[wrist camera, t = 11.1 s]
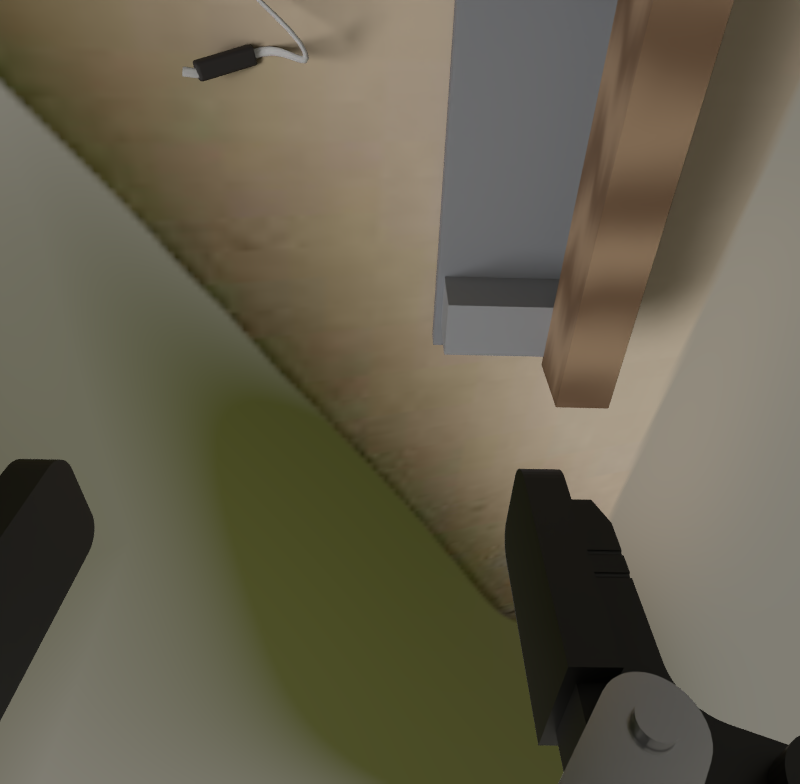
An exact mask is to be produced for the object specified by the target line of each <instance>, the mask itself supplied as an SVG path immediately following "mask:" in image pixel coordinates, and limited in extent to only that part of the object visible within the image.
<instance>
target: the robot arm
mask: <svg viewBox="0 0 800 784" xmlns="http://www.w3.org/2000/svg"><path fill="white" fill-rule="evenodd" d="M93 537H94V519H93V516H92V514H91V511H90V509H89V507H88V504H87V502H86V500H85V498H84V495H83V493H82V491H81V489H80V486H79V484H78V482H77V479H76V477H75V475H74V473H73V470H72V468H71V466H70V465H69V464H68V463H67V462H66V461H64V460H43V459H41V460H40V459H18V460H15V461H13V462H12V463H10V464H9V465H8V467H7V468H6V469H5V470H4V471H3V473H2V474H1V475H0V720H1V718H2V716H3V714H4V712H5V711H6V708H7V707H8V705H9V703H10V701H11V699H12V697H13V695H14V693H15V692H16V690H17V688H18V686H19V684H20V682H21V680H22V678H23V676H24V674H25V673H26V670H27V669H28V667H29V665H30V663H31V661H32V659H33V657H34V655H35V653H36V652H37V650H38V648H39V646H40V644H41V642H42V640H43V638H44V636H45V634H46V632H47V631H48V629H49V627H50V625H51V623H52V621H53V619H54V617H55V615H56V614H57V612H58V610H59V607H60V606H61V604H62V602H63V600H64V598H65V596H66V594H67V593H68V591H69V589H70V587H71V585H72V583H73V581H74V579H75V577H76V575H77V574H78V572H79V570H80V568H81V566H82V564H83V562H84V560H85V558H86V556H87V554H88V552H89V550H90V548H91V545H92V542H93ZM505 553H506V561H507V567H508V572H509V578H510V584H511V590H512V595H513V601H514V607H515V613H516V618H517V624H518V630H519V636H520V641H521V647H522V653H523V659H524V665H525V670H526V676H527V682H528V687H529V693H530V699H531V705H532V711H533V717H534V722H535V728H536V734H537V739H538V745H558V746H559V751H560V756H561V761H562V766H563V771H564V773H563V775H562V777H561V779H560V781H559V783H558V784H800V736H798V737H797V738H795V739H794V740H793V741H792V742H791V743H790V744H789V745H787V744H784V743H781V742H778V741H776V740H772V739H770V738H767V737H764V736H761V735H758V734H755V733H752V732H749V731H746V730H744V729H741V728H737V727H735V726H732V725H729V724H727V723H724V722H722V721H719V720H717V719H715V718H714V717H712V716H710V715H708V714H707V713H705V712H704V711H702V710H701V709H699V708H698V707H697V706H696V704H695V703H694V702H693V700H692V699H691V698H690V697H689V696H688V695H687V694H686V693H685V692H683V691H682V690H681V689H680V688H679V687H677V686H676V685H675V683H674V682H673V681H672V679H671V678H670V676H669V674H668V672H667V670H666V668H665V666H664V664H663V661H662V658H661V656H660V653H659V650H658V647H657V645H656V642H655V639H654V637H653V634H652V631H651V629H650V626H649V623H648V620H647V618H646V615H645V613H644V610H643V607H642V604H641V601H640V599H639V596H638V593H637V591H636V588H635V585H634V583H633V580H632V578H630V576H629V574H630V572H629V569H628V566H627V564H626V561H625V558H624V556H623V555H622V554H621V548H620V545H619V542H618V539H617V537H616V534H615V532H614V529H613V526H612V523H611V522H610V521H609V520H608V519H607V517H606V516H605V515H604V514H603V513H602V512H601V511H600V509H599V508H598V507H597V506H596V505H595V504H594V503H593V501H592V500H572V499H571V497H570V493H569V490H568V487H567V484H566V480H565V477H564V475H563V473H562V471H561V470H555V469H518V470H517V472H516V475H515V480H514V485H513V490H512V495H511V500H510V505H509V510H508V515H507V520H506V526H505Z"/></svg>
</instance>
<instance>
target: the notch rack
mask: <svg viewBox="0 0 800 784" xmlns="http://www.w3.org/2000/svg"><path fill="white" fill-rule="evenodd" d="M617 1H618V0H455V8H454V23H453V38H452V53H451V67H450V82H449V97H448V112H447V127H446V142H445V156H444V171H443V186H442V201H441V216H440V231H439V245H438V260H437V275H436V290H435V305H434V320H433V334H432V335H433V345H443V346H444V354H450V355H494V356H539V357H543V356H544V351H545V346H546V342H547V337H548V332H549V327H550V322H551V318H552V313H553V308H554V303H555V298H556V294H557V289H558V284H559V279H560V274H561V270H562V265H563V260H564V255H565V251H566V246H567V241H568V236H569V231H570V227H571V222H572V217H573V212H574V207H575V203H576V198H577V193H578V188H579V183H580V179H581V174H582V169H583V164H584V160H585V155H586V150H587V145H588V140H589V136H590V131H591V126H592V121H593V116H594V112H595V107H596V102H597V97H598V92H599V88H600V83H601V78H602V73H603V69H604V64H605V59H606V54H607V49H608V45H609V40H610V35H611V30H612V25H613V21H614V16H615V11H616V6H617Z"/></svg>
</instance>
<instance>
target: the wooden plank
mask: <svg viewBox="0 0 800 784" xmlns="http://www.w3.org/2000/svg"><path fill="white" fill-rule="evenodd" d="M733 3H734V0H618V1H617V6H616V11H615V16H614V21H613V25H612V30H611V35H610V40H609V45H608V49H607V54H606V59H605V64H604V69H603V73H602V78H601V83H600V88H599V92H598V97H597V102H596V107H595V112H594V116H593V121H592V126H591V131H590V136H589V140H588V145H587V150H586V155H585V160H584V164H583V169H582V174H581V179H580V183H579V188H578V193H577V198H576V203H575V207H574V212H573V217H572V222H571V227H570V231H569V236H568V241H567V246H566V251H565V255H564V260H563V265H562V270H561V274H560V279H559V284H558V289H557V294H556V298H555V303H554V308H553V313H552V318H551V322H550V327H549V332H548V337H547V342H546V346H545V351H544V356H543V361H542V368H543V371H544V373H545V376H546V379H547V382H548V385H549V388H550V391H551V394H552V397H553V400H554V403H555V406H556V407H573V408H609V404H610V401H611V398H612V395H613V391H614V388H615V385H616V382H617V378H618V375H619V372H620V369H621V366H622V362H623V359H624V356H625V353H626V349H627V346H628V343H629V340H630V336H631V333H632V330H633V327H634V323H635V320H636V317H637V314H638V310H639V307H640V304H641V301H642V297H643V294H644V291H645V288H646V284H647V281H648V278H649V275H650V272H651V268H652V265H653V262H654V259H655V255H656V252H657V249H658V246H659V242H660V239H661V236H662V233H663V229H664V226H665V223H666V220H667V216H668V213H669V210H670V207H671V203H672V200H673V197H674V194H675V190H676V187H677V184H678V181H679V178H680V174H681V171H682V168H683V165H684V161H685V158H686V155H687V152H688V148H689V145H690V142H691V139H692V135H693V132H694V129H695V126H696V122H697V119H698V116H699V113H700V109H701V106H702V103H703V100H704V97H705V93H706V90H707V87H708V84H709V80H710V77H711V74H712V71H713V67H714V64H715V61H716V58H717V54H718V51H719V48H720V45H721V41H722V38H723V35H724V32H725V28H726V25H727V22H728V19H729V15H730V12H731V9H732V6H733Z"/></svg>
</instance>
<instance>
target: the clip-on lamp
mask: <svg viewBox="0 0 800 784" xmlns="http://www.w3.org/2000/svg"><path fill="white" fill-rule="evenodd" d="M257 1H258V3H259V4H260V5H261V6H262V7H263V8H264V9H265V10H266V11H267V12H268V13H269V14H270V15H271V16H272V17H273V18H274V19H275V20H276V21H277V22H278V23H279V24H280V25H281V26H282V27H283V28H284V29H285V30H286V31H287V32H288V33H289V34H290V35H291V36H292V38H293V39H294V40H295V41H296V42H297V44H298V45H299V47H300V49H301V50H302V53H303V56H300V55H297V54H295V53H292V52H290V51H287V50H285V49H282V48H278V47H272V46H268V47H259V48H256V49H253V47H252V46H251V45H244V46H241V47H237V48H234V49H231V50H227V51H224V52H221V53H217V54H214V55H211V56H207V57H204V58H201V59H197V60H194V61H193V65H194V68H190V67H183V73H182V76H185V77H193V78H198V79H199V80H200V81H206V80H209V79H213V78H216V77H219V76H222V75H225V74H229V73H232V72H235V71H238V70H242V69H245V68H248V67H251V66H255V65H257V60H256V58H260V57H263V56H279V57H284V58H287V59H291V60H294V61H296V62H299V63H306V62H307V61H308V59H309V57H308V53H307V50H306V48H305V47H304V45H303V43H302V41H301V40H300V39H299V38H298V36H297V35H296V34H295V33H294V31H293V30H292V29H291V28H290V27H289V26H288V25H287V24H286V23H285V22H284V21H283V20H282V19H281V18H280V17H279V16H278V15H277V14H276V13H275V12H274V11H273V10H272V9H271V8H270V7H269V6H268V5H267V4H266V3H265V2H264V1H263V0H257Z"/></svg>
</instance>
